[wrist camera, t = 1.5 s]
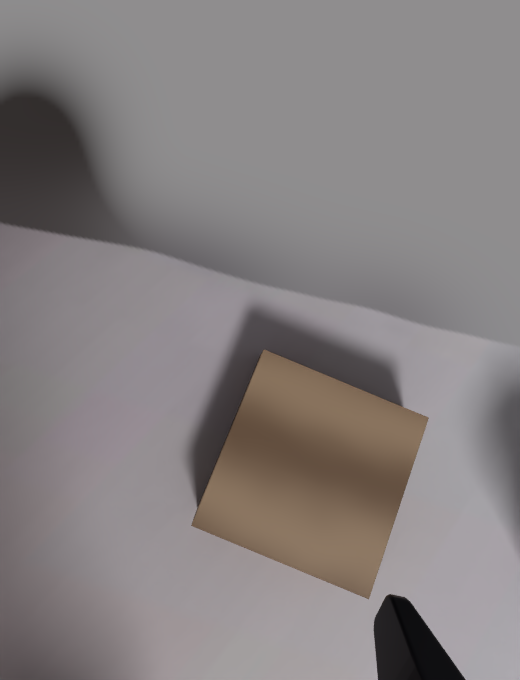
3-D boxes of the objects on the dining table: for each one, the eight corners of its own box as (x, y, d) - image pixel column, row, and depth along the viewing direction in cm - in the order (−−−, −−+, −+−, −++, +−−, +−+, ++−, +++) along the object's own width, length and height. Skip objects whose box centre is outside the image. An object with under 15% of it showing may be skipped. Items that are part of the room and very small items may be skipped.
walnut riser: (351, 571, 23) (368, 599, 20) (197, 507, 23) (191, 525, 20) (405, 414, 24) (428, 417, 21) (260, 354, 24) (263, 349, 21)
